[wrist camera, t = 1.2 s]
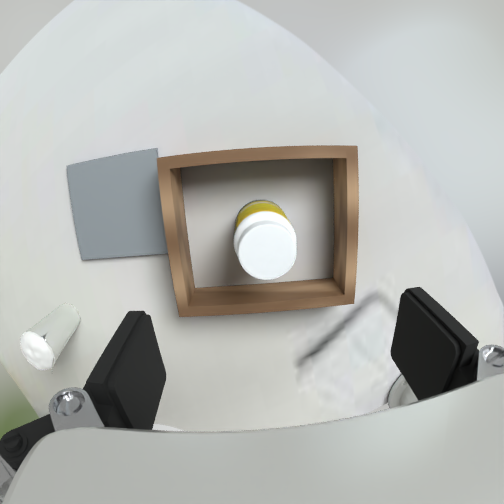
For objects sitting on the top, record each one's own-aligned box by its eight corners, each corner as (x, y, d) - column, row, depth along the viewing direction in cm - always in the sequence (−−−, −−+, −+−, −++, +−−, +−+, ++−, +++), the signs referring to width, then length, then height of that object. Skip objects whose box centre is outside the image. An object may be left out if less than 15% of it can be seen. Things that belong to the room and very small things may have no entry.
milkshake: (92, 336, 32) (55, 388, 22) (57, 324, 32) (16, 370, 22) (90, 304, 31) (48, 354, 21) (54, 293, 30) (7, 336, 21)
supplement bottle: (227, 209, 28) (220, 232, 20) (276, 191, 27) (289, 206, 19) (246, 255, 29) (247, 294, 21) (293, 238, 29) (311, 271, 21)
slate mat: (169, 251, 29) (168, 253, 28) (84, 258, 29) (81, 259, 28) (157, 148, 26) (155, 148, 25) (69, 165, 26) (66, 165, 25)
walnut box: (341, 285, 30) (354, 303, 27) (186, 297, 30) (179, 316, 27) (342, 146, 26) (357, 145, 22) (168, 157, 26) (156, 158, 22)
